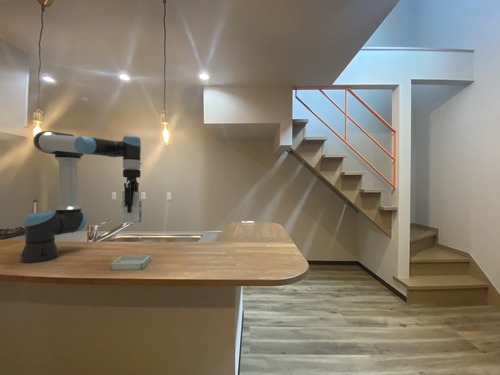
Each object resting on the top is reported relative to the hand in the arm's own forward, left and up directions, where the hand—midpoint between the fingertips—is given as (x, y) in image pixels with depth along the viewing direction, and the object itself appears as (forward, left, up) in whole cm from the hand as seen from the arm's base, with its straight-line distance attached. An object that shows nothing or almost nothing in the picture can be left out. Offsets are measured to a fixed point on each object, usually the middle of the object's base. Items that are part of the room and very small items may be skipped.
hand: (131, 218), depth 125 cm
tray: (0, 0, -22) cm, 22 cm away
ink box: (0, 0, -2) cm, 2 cm away
